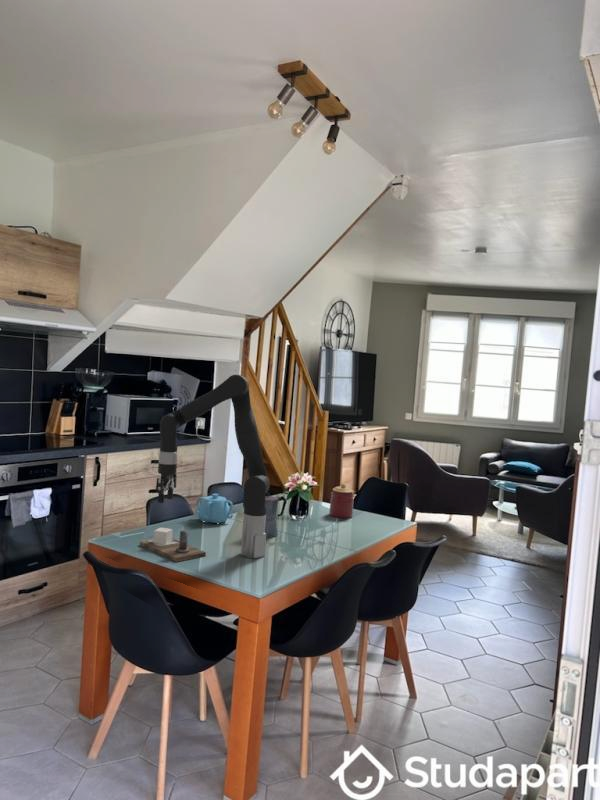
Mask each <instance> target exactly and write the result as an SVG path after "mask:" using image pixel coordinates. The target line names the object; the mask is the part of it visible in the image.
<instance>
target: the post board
mask: <svg viewBox="0 0 600 800" xmlns="http://www.w3.org/2000/svg"><path fill="white" fill-rule="evenodd" d="M188 533H189V531H188V530H180V533H179V540H178V539H175V538H173V537H172V541H171V542H169V543H168V544H160V543H153V542H154V538H152V539H147V540H141V541H139V545H140V546H141V547H143V548H145V549H147V550H149V551H152V552H154V553H157V554H158V553H159V554H158V555H160V554H161V556H163V557H165V556H166V557H165V558H167V557H168V558H167V559H169V558H170V559H169V560H171V559H172V560H171V561H173V560H174V562H176V563H179V562H178V561H180V562H183V561H182V560H184V561H187V560H186V559H189V560H192V559H191V558H194V559H197V558H196V557H198V558H202V557H201V556H203V557H206V554H207V552H206V551H204V550H201V549H199V548H196V547H195V546H192V545H189V544H188Z"/></svg>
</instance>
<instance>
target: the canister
mask: <svg viewBox="0 0 600 800" xmlns="http://www.w3.org/2000/svg"><path fill="white" fill-rule="evenodd" d="M330 495H331V497H330V499H329V500H330V502H329V503H330V504H329V512H328V513H329V516H331V517H335V518H339V519H349V518H352V517H353V515H354V502H355V501H354V497H355V494H354V489H352V488H350V487H349V486H348V487H347V486H346V483H341V485H340V486H335V487H334V488H332V491H331V492H330Z"/></svg>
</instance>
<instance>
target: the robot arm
mask: <svg viewBox="0 0 600 800" xmlns="http://www.w3.org/2000/svg"><path fill="white" fill-rule="evenodd" d="M249 384H250V383H249V381H248V380H247V379H246V377H245V376H243V375H240V374H232V375H230V376H229V377H228V378H227V379H225V380H224V381H222V383H220V384H219V385H218V386H216V387H215V388H213V389H212V390H210V391H208V392H206V393H204V394H203V395H200V396H198V397H197V398H195V399H192V400H191V401H189V402H188V403H185V404H184V405H183V406H181V407H180V408H178V409H176V410H174V411H172V412H170V413H167V414H165V415H164V416H162V417H161V419H160V421H159V436H160V443H159V444H160V445H159V454H158V467H157V473H158V474H160V475H161V476H160V478H159V477H157V478H156V484H155V486H156V487H155V493H157V494H158V495H157V496H158V497H157V499H158V500H157V502H158V503H160V504H164V503H165V492H166V490H167V494H166V495H167V497H166V498H167V500H173V499H174V490H175V488H177V470H178V447H179V446H178V443H179V442H178V438H177V431H178V430H177V429H179V428H180V427H183V426H184V425H185V424H187V423H188V422H191V421H194V420H195V419H197V418H200V417H201V416H203V415H204V414H206V413H207V412H209V411H210V410H211V409H213V408H214V407H216V406H217V405H220V404H221V403H224V402H225V401H227V400H230V399H231V403H232V407H233V412H234V413H233V414H234V415H233V416H234V431H235V437H236V442H237V445H238V448H239V451H240V453H241V455H242V457H243V459H244V460H245V463H246V466H247V473H248V478H247V479H246V481H245V482H244V484H243V486H244V487H243V496H242V497H243V498H242V499H243V500H242V507H243V519H242V520H243V521H242V532H241V544H240V545H241V546H240V547H241V548H240V555H241V556H242V557H245V558H251V559H257V558H262V557H265V555H266V546H267V545H266V544H267V543H266V542H267V541H266V540H267V537H266V533H265V521H266V507H265V496H267V495H266V494H267V493H268V492H269V490H270V487H271V483H270V481H271V480H270V478H269V475H268V472H267V469H266V466H265V462H264V456H263V450H262V446H261V440H260V439H261V438H260V435H259V430H258V426H257V422H256V419H255V415H254V412H253V409H252V405H251V396H250V387H249Z"/></svg>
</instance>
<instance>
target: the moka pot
mask: <svg viewBox="0 0 600 800" xmlns="http://www.w3.org/2000/svg"><path fill="white" fill-rule="evenodd" d="M266 494H267V495H265V507H266V521H265V533H266V538H273V537H277V535H279V534H278V533H279V532H278V525H277V517H282V516H283V514H284V511H285V509H286V505H287V499H286V498H285V496H284V495H281V496H272V495H271V492H269V491H268V492H267V493H266ZM281 501H283V505H282V507H281V511H280V513H279V514H277V512H278V504H279V502H281Z"/></svg>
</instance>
